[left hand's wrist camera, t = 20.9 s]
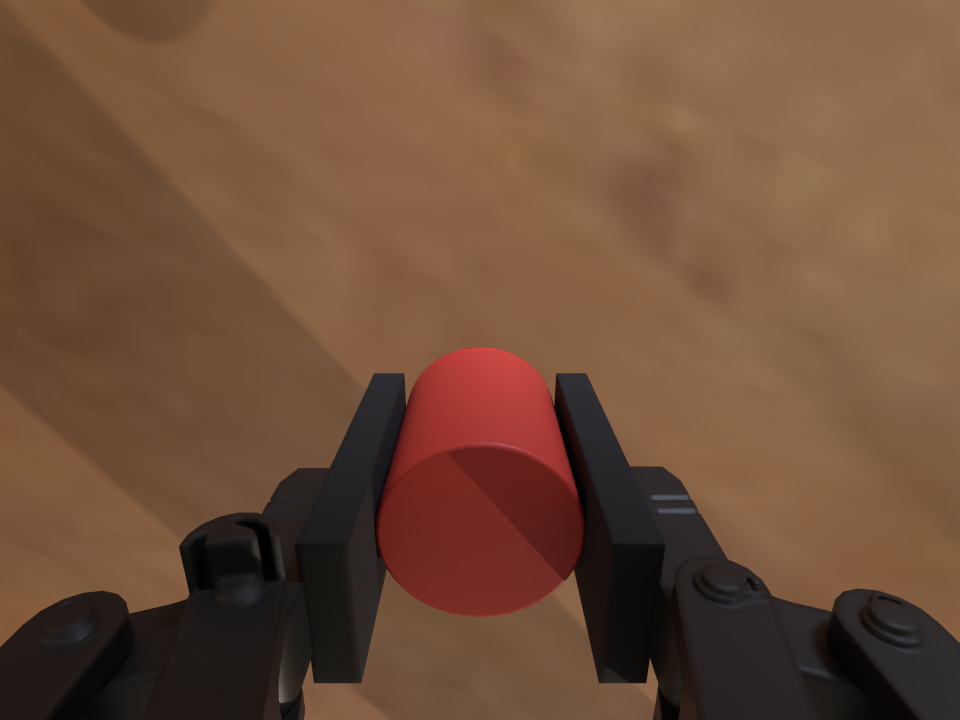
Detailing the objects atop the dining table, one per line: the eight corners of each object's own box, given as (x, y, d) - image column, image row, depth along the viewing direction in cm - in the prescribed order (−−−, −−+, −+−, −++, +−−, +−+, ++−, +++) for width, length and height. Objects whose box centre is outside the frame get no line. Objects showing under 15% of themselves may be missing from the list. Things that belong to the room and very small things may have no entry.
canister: (377, 400, 15) (330, 518, 10) (496, 316, 14) (505, 402, 9) (465, 500, 16) (459, 648, 11) (581, 428, 15) (626, 555, 10)
